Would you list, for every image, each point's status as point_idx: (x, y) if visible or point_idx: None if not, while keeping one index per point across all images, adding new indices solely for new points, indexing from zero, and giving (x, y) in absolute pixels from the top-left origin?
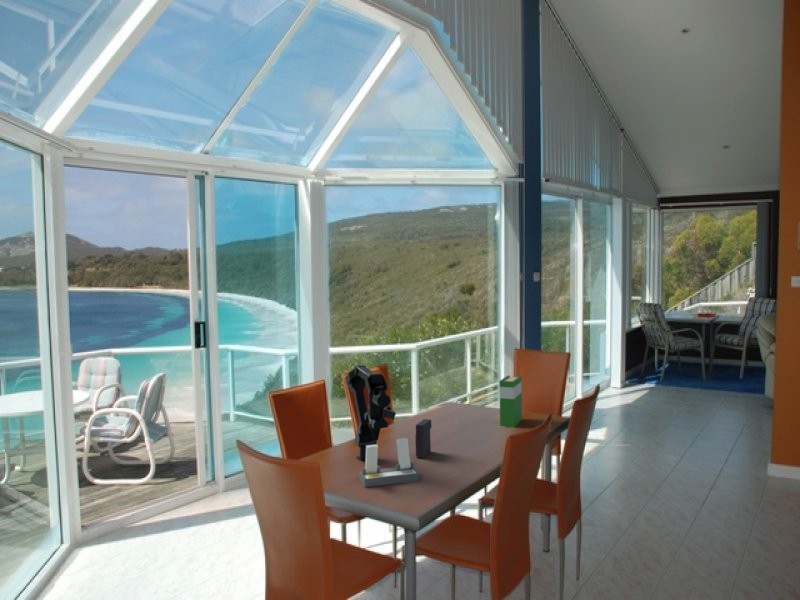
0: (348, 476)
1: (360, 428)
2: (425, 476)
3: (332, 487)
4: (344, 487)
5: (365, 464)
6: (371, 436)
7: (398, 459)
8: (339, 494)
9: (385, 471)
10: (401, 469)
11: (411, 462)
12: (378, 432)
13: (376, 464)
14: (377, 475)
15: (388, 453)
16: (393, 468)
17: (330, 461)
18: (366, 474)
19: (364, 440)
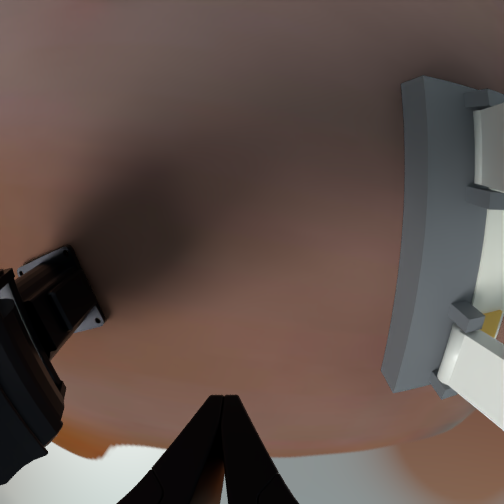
0: (326, 407)
1: (7, 474)
2: (460, 51)
3: (407, 438)
4: (430, 410)
5: (463, 396)
6: (12, 361)
7: (501, 190)
8: (466, 413)
9: (461, 269)
10: (468, 166)
11: (489, 97)
12: (281, 487)
13: (497, 345)
14: (496, 320)
15: (3, 157)
16: (439, 209)
17: (102, 427)
18: None
19: (55, 397)
